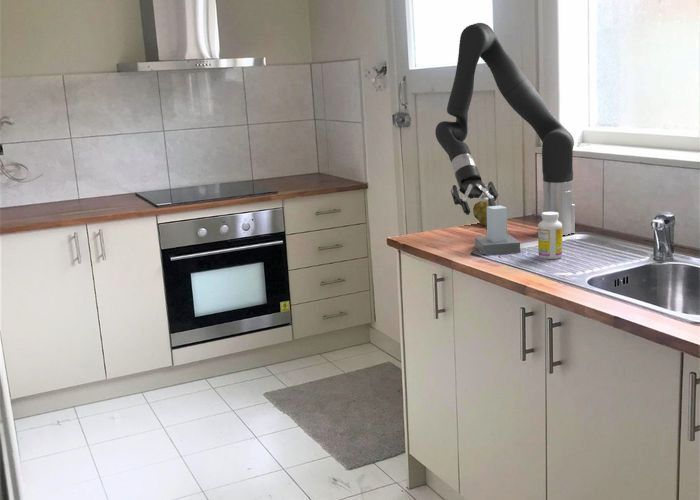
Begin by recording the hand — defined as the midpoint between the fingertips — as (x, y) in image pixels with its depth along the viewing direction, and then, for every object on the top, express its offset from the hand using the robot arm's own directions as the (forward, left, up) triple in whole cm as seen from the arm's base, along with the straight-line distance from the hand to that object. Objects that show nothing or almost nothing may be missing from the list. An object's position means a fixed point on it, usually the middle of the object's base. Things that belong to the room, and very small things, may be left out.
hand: (481, 212), depth 244 cm
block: (-2, +11, -7) cm, 13 cm away
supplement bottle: (-14, +24, -10) cm, 29 cm away
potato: (-8, -24, -10) cm, 27 cm away
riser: (-2, +11, -10) cm, 15 cm away
